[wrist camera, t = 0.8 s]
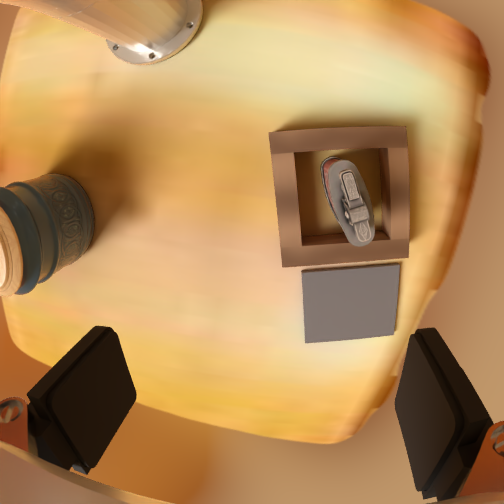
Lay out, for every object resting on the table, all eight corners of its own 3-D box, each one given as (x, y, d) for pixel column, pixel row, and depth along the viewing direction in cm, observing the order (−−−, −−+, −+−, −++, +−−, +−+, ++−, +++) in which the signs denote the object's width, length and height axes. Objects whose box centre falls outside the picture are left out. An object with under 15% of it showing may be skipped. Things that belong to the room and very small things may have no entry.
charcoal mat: (301, 270, 38) (301, 272, 37) (398, 263, 36) (399, 265, 35) (305, 340, 41) (305, 343, 40) (392, 332, 39) (393, 334, 38)
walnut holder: (270, 133, 33) (268, 132, 29) (395, 127, 31) (405, 126, 27) (283, 256, 37) (282, 267, 34) (398, 247, 35) (408, 257, 32)
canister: (106, 257, 40) (21, 321, 24) (43, 262, 42) (-35, 314, 26) (87, 163, 36) (-17, 186, 20) (25, 181, 38) (-65, 210, 21)
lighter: (363, 221, 35) (388, 249, 25) (336, 229, 35) (351, 261, 26) (343, 152, 33) (363, 156, 23) (314, 161, 33) (324, 168, 24)
